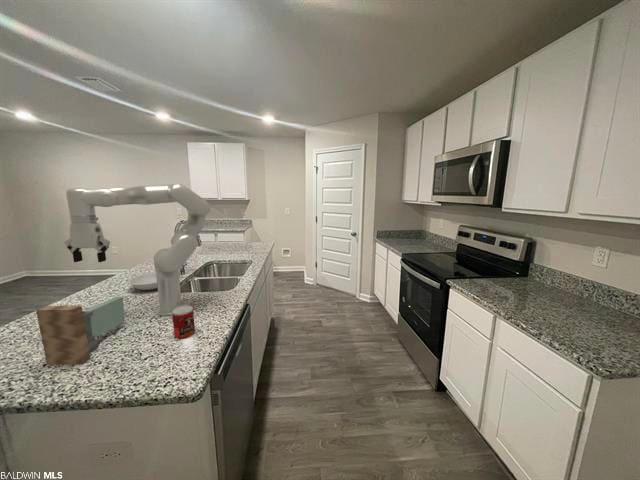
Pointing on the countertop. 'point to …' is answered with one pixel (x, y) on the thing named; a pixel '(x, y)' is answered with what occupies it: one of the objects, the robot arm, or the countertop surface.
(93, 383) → the countertop surface
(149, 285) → the soup bowl
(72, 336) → the cabinet side
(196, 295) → the countertop surface
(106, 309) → the door
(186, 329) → the canned food
